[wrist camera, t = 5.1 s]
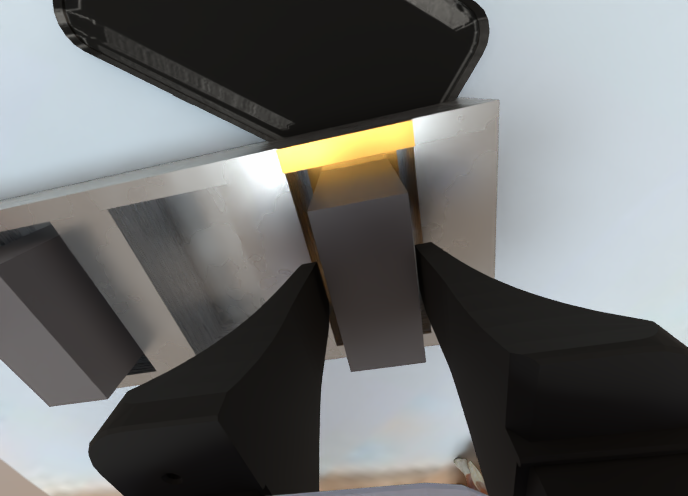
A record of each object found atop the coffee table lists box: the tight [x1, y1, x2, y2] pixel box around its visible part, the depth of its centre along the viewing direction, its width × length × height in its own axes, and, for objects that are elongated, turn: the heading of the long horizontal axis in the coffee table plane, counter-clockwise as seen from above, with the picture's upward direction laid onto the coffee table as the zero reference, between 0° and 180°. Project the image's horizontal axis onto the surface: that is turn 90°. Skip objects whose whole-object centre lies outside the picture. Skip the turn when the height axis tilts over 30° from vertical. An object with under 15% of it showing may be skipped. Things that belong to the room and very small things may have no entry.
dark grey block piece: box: [307, 159, 426, 372], centre depth 13 cm, size 7×3×5 cm, turn 11°
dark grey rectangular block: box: [0, 225, 144, 407], centre depth 14 cm, size 7×3×5 cm, turn 12°
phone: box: [53, 0, 489, 142], centre depth 12 cm, size 8×1×15 cm
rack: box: [0, 98, 499, 388], centre depth 14 cm, size 10×24×4 cm, turn 102°
